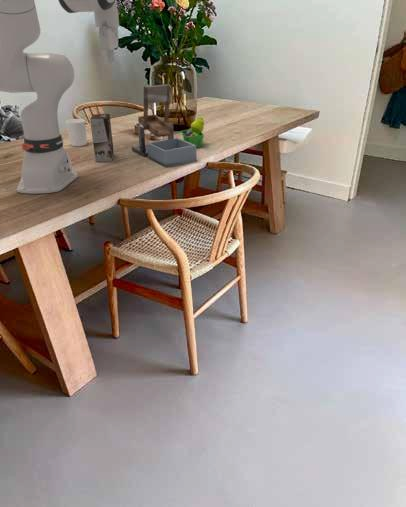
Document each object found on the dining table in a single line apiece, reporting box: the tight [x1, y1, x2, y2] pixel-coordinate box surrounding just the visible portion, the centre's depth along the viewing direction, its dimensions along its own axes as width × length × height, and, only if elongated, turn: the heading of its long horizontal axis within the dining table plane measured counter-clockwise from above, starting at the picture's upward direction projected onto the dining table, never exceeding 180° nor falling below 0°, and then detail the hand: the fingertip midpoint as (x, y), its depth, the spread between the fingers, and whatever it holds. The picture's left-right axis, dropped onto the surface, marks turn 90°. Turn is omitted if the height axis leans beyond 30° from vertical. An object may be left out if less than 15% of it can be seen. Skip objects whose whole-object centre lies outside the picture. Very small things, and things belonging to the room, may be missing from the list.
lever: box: [137, 83, 174, 138], centre depth 164 cm, size 15×10×17 cm
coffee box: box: [89, 113, 115, 163], centre depth 162 cm, size 9×6×16 cm
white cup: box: [65, 118, 88, 147], centre depth 182 cm, size 8×8×10 cm
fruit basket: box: [181, 116, 205, 148], centre depth 180 cm, size 11×9×11 cm
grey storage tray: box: [146, 137, 198, 168], centre depth 163 cm, size 14×14×6 cm
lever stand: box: [131, 122, 175, 158], centre depth 172 cm, size 11×15×11 cm
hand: (111, 62), depth 166 cm, fingers closed
